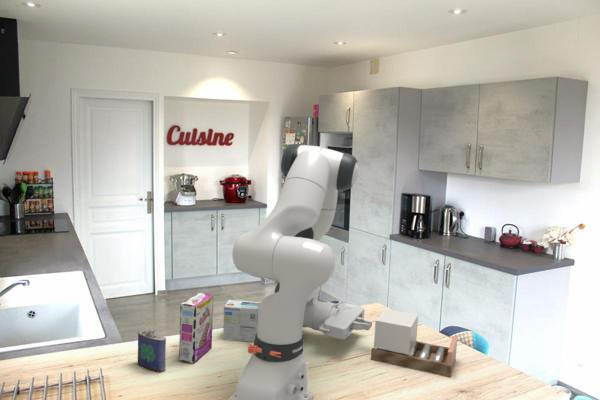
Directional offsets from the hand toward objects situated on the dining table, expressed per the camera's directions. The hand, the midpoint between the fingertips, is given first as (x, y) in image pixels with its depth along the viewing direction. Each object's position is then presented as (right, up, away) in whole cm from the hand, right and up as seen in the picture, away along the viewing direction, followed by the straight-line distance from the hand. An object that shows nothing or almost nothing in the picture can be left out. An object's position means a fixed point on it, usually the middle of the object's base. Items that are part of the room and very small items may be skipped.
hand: (370, 326), depth 148 cm
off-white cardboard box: (+7, -5, -2) cm, 9 cm away
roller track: (+12, -9, -4) cm, 15 cm away
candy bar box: (-50, -7, -7) cm, 51 cm away
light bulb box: (-39, -5, +7) cm, 40 cm away
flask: (-61, -7, -15) cm, 63 cm away
